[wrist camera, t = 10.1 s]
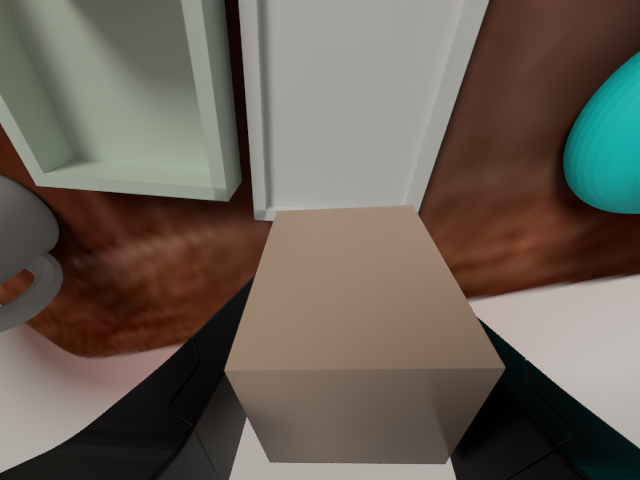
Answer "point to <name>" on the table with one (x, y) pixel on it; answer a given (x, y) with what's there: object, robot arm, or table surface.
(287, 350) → the tan rectangular block
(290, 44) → the tray
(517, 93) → the table surface
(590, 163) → the donuts
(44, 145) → the bin
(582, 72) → the table surface
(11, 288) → the table surface
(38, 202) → the cup
